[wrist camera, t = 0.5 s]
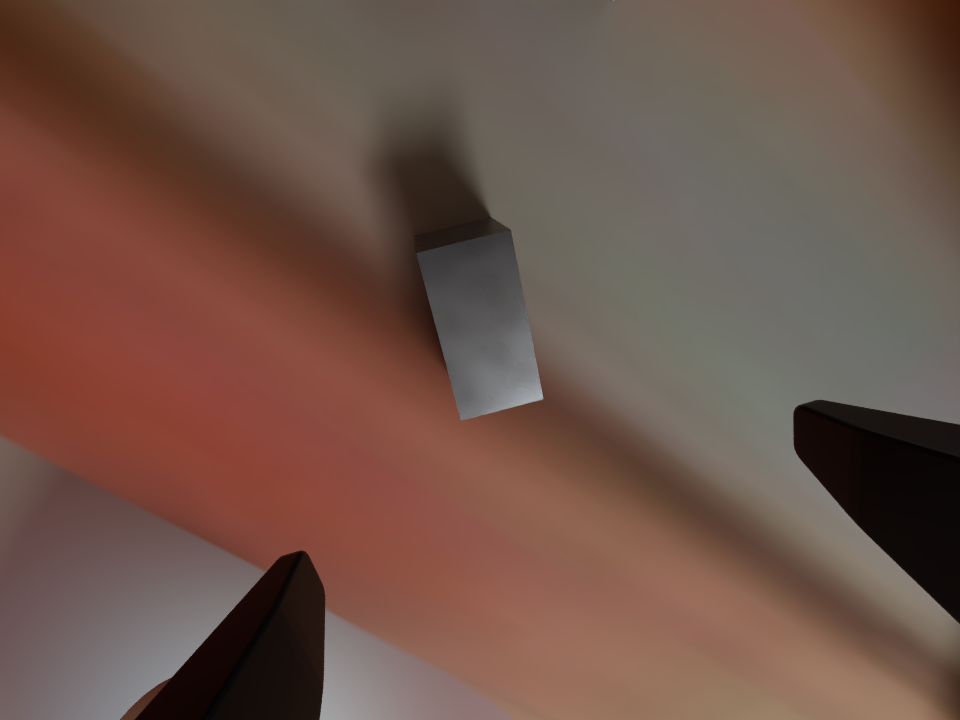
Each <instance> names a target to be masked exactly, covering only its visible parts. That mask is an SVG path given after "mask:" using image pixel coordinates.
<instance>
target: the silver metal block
mask: <svg viewBox="0 0 960 720" xmlns="http://www.w3.org/2000/svg"><path fill="white" fill-rule="evenodd" d="M414 239H415V248H416V255H417V258H418V262H419V266H420V269H421V273H422V277H423V281H424V284H425V288H426V292H427V296H428V299H429V303H430V307H431V310H432V314H433V318H434V322H435V325H436V329H437V333H438V336H439V340H440V344H441V348H442V351H443V355H444V359H445V363H446V366H447V370H448V374H449V377H450V381H451V385H452V389H453V392H454V396H455V400H456V403H457V407H458V411H459V415H460V418H461V421H462V420H466V419H469V418H473V417H477V416H481V415H485V414H488V413H492V412H496V411H500V410H504V409H507V408H511V407H515V406H519V405H522V404H526V403H530V402H534V401H538V400H541V399H543V394H542V389H541V384H540V379H539V374H538V369H537V363H536V358H535V353H534V348H533V343H532V338H531V332H530V327H529V322H528V317H527V312H526V307H525V301H524V296H523V291H522V286H521V281H520V276H519V270H518V265H517V260H516V255H515V250H514V245H513V239H512V234H511V230H510V229H509V228H507V227H506V226H504V225H502V224H501V223H499V222H498V221H496V220H494V219H493V218H491V217H490V218H486V219H482V220H478V221H474V222H470V223H466V224H462V225H458V226H454V227H450V228H446V229H442V230H438V231H434V232H430V233H425V234H421V235H417V236H414Z"/></svg>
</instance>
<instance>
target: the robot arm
mask: <svg viewBox="0 0 960 720" xmlns="http://www.w3.org/2000/svg"><path fill="white" fill-rule="evenodd" d="M793 423H794V448H795V451H796V453H797V455H798V457H799V458H800V459H801V460H802V462H803V463H804V464H805V465H806V466H807V467H808V469H809V470H810V471H811V472H812V473H813V474H814V476H815V477H816V478H817V479H818V480H819V481H820V483H821V484H822V485H823V486H824V487H825V488H826V490H827V491H828V492H829V493H830V494H831V495H832V497H833V498H834V499H835V500H836V501H837V502H838V504H839V505H840V506H841V507H842V508H843V509H844V511H845V512H846V513H847V514H848V515H849V516H850V517H851V518H852V519H853V521H854V522H855V523H856V524H857V525H858V526H859V527H860V528H861V529H862V530H863V531H864V532H865V533H866V534H867V535H868V536H869V537H870V538H871V539H872V540H873V541H874V542H875V543H876V544H877V545H878V546H879V547H880V548H881V549H882V550H883V551H884V552H886V553H887V554H888V555H889V556H890V557H891V558H892V559H893V560H894V561H895V562H896V563H897V564H898V565H899V566H900V567H901V568H902V569H903V570H904V571H905V572H906V573H907V574H908V575H909V576H910V577H911V578H913V579H914V580H915V581H916V582H917V583H918V584H919V585H920V586H921V587H922V588H923V589H924V590H925V591H926V592H927V593H928V594H929V595H930V596H931V597H932V598H933V599H934V600H935V601H936V602H937V603H938V604H940V605H941V606H942V607H943V608H944V609H945V610H946V611H947V612H948V613H949V614H950V615H951V616H952V617H953V618H954V619H955V620H956V621H957V622H958V623H959V624H960V425H958V424H953V423H947V422H942V421H936V420H930V419H925V418H919V417H914V416H908V415H903V414H897V413H891V412H886V411H880V410H875V409H869V408H864V407H858V406H853V405H847V404H841V403H836V402H830V401H825V400H815V401H811V402H808V403H805V404H801V405H798V406H797V407H796V408H795V410H794V414H793ZM324 639H325V591H324V587H323V584H322V582H321V580H320V578H319V576H318V573H317V571H316V569H315V567H314V565H313V563H312V561H311V559H310V557H309V555H308V554H307V553H306V552H305V551H297V552H294V553H290V554H287V555H284V556H281V557H280V558H279V559H278V560H277V561H276V562H275V563H274V564H273V565H272V566H271V567H270V569H269V570H268V571H267V572H266V573H265V574H264V575H263V576H262V578H261V579H260V580H259V581H258V582H257V583H256V584H255V586H253V588H252V589H251V590H250V591H249V592H248V593H247V594H246V596H244V598H243V599H242V600H241V601H240V602H239V603H238V604H237V605H236V607H235V608H234V609H233V610H232V611H231V612H230V613H229V614H228V615H227V617H226V618H225V619H224V620H223V621H222V622H221V623H220V624H219V626H218V627H217V628H216V629H215V630H214V631H213V632H212V633H211V634H210V636H209V637H208V638H207V639H206V640H205V641H204V642H203V643H202V645H201V646H200V647H199V648H198V649H197V650H196V651H195V652H194V653H193V655H192V656H191V657H190V658H189V659H188V660H187V661H186V662H185V664H184V665H183V666H182V667H181V668H180V669H179V670H178V671H177V672H176V674H175V675H174V676H173V677H172V678H171V679H170V680H169V681H168V682H167V684H166V685H165V686H164V687H163V688H162V689H161V690H160V691H159V692H158V694H157V695H156V696H155V697H154V698H153V699H152V700H151V701H150V703H149V704H148V705H147V706H146V707H145V708H144V709H143V710H142V711H141V713H140V714H139V715H138V716H137V717H136V718H135V719H134V720H319V719H320V712H321V703H322V694H323V680H324Z"/></svg>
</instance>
